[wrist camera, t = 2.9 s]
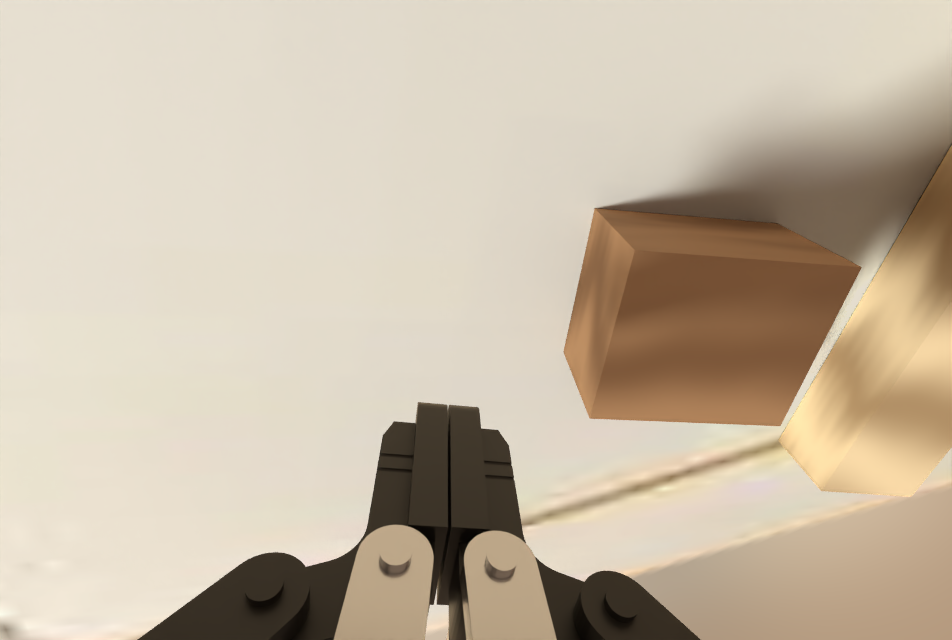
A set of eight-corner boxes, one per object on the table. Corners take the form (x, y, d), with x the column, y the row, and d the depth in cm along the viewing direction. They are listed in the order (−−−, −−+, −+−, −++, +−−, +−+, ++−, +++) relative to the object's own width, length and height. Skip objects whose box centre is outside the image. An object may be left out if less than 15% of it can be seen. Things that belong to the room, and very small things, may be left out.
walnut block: (593, 207, 20) (634, 250, 16) (774, 222, 21) (861, 267, 17) (562, 350, 23) (589, 418, 19) (719, 358, 24) (780, 426, 20)
